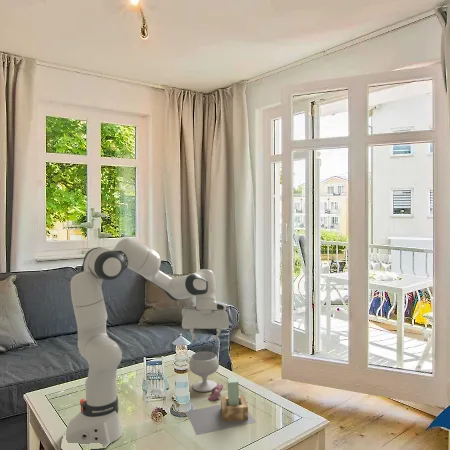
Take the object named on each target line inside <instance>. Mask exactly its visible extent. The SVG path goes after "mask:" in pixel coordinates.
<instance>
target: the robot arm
mask: <svg viewBox="0 0 450 450" xmlns="http://www.w3.org/2000/svg"><path fill="white" fill-rule="evenodd" d="M83 258H84V259H83V261H82V265H81V268H80V270H81V272H78V273H77V274H75V275H74V276H73V277H71V279H70V296H71V297H70V298H71V304H72V307H73V313H74V316H75V321H76V327H77V328H76V329H77V348H78V352H79V354H80V355H81V356H82V358H84V359H85V360H86V362H87V364H88V373H87V378H86V380H85V381H84V382H85V383H84V384H85V398H81V399H80V400H79V405H80V411H79V412H78V414H76V415H75V416H74V417H73V418H71V420H70V421H69V423H68V425H67V426H66V431H65V432H66V440H67V442H68V443H78V444H90V443H100V444H103V445H102V446H103V447H105V446H107V445H109V444H110V443H111V442H113V441H115V440H116V439H118V438H119V437H120V436H121V437H122V435H123V433H122V432H124V431H123V428H122V424H121V420H120V416H119V410H120V409H119V407H120V406H119V397H118V395H117V371H118V367H119V365H120V363H121V361H122V358H123V353H122V349H121V347H120V346H119V345H118V343H117V342H116V341H115V340H113V339H112V338H110V337H109V334H108V333H107V320H108V312H107V307H106V303H105V299H104V293H103V291H102V287H103V285H102V284H103V281H113V280H115V279H117V278H119V277H120V276H121V275H122V274H123V272H124V271H125V270H126V269H129V270H130V271H132V272H134V273H136V274H138V275H140V276H142V277H143V278H144V279H145V280H147V282H150V284H151V283H152V284H153V285H154V286H156V288H157V287H158V288H159V289H161V290H162V291H163V292H164V293H165V294H166V295H167V296H168V298H170V299H171V300H172V301H174V302H175V301H176V302H180V301H182V300H185V299H190V298H193V297H194V298H195V306H188V305H187V306H185V307H183V308H182V309H181V316H182V320H181V327H182V328H183V329H188V330H189V332H190V334H191V336H192V337H191V338H192V340H193V341H194V340H195V341H196V340H197V334H195V333H194V329H196V330H197V329H199V330H202V329H203V330H206V329H207V330H216V332H217V333H216V335H214V336H213V337H214V339H213V340H215V341H218V340H219V335H220V333H221V332H222V330H227V329H229V327H230V320H229V315H228V312H227V311H226V310H227V306H226V305H224V304H222V303H219V302H217V300H216V299H217V298H216V290H217V287H216V286H217V283H216V276H215V273H214V272H213V271H212V270H210V269H207V268H201V269H198V270H197V271H196V272H193V273H189V274H186V275H183V276H180V277H170V276H169V275H167V274H166V273H164V272H163V271H161V270H160V268H161V264H162V263H161V262H162V260H161V257H160V254H159V253H158V252H156V251H155V250H154V249H153V248H151V247H148V245H146V244H143V243H141V242H139V241H136V240H134V239H130V238H123V239H120V240H119V241H118V242H117V244H116V245H115V247H114V248H112V249H109V248H104V247H93V248H92V249H90V250H88V251H87V252H86V253H85V255H84V257H83ZM121 437H120V438H121ZM120 438H119V439H120ZM119 439H118V440H119ZM116 441H117V440H116ZM116 441H115V442H116ZM113 443H114V442H113ZM111 444H112V443H111ZM111 444H110V445H111ZM110 445H109V446H110Z"/></svg>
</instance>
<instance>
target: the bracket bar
mask: <svg viewBox="0 0 450 450" xmlns="http://www.w3.org/2000/svg"><path fill="white" fill-rule="evenodd" d="M226 379H227V396H228V406H234V405H239V395H240V393H239V389H240V388H239V380H238V377H230V378H228V377H227V378H226Z"/></svg>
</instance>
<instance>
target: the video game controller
mask: <svg viewBox="0 0 450 450" xmlns="http://www.w3.org/2000/svg"><path fill="white" fill-rule="evenodd" d="M223 387H224V385H223V384H221V383H217V386H216V387H214V388H213V389H212V391H210V392H211V393H212V394H211V395H210V396H209V397H208V398H207V400H210V401H216V400H218V399H219V398H221V397H222V394H221V393H222V390H223Z"/></svg>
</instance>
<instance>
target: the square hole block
mask: <svg viewBox="0 0 450 450" xmlns="http://www.w3.org/2000/svg"><path fill="white" fill-rule="evenodd" d="M220 405H221V411H222V418H223V421H233V420H245V419H248V412H249V406H248V403H247V400H246V396H245V394H242V395H241V394H239V405H234V406H228V395H227V396H225V395H224V396H221V397H220Z"/></svg>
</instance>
